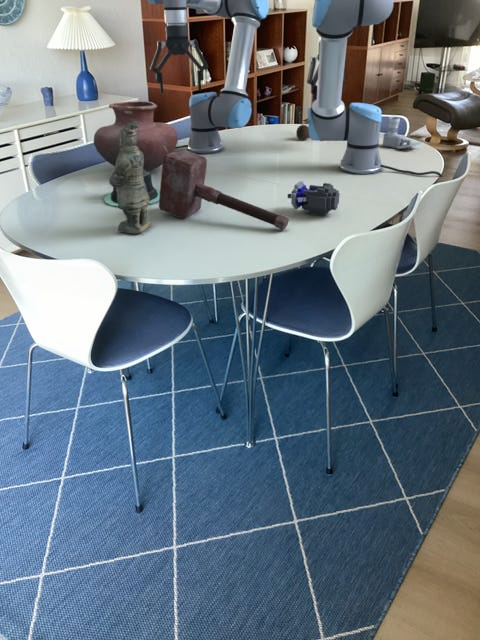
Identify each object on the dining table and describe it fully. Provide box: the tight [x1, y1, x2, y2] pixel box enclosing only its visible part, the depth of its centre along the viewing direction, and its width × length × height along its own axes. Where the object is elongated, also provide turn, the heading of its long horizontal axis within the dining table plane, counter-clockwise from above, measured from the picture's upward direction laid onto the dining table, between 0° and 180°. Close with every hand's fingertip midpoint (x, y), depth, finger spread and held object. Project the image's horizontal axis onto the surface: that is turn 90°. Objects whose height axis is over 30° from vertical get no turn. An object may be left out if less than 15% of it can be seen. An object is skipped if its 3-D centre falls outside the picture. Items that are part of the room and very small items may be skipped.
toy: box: [287, 180, 341, 216], centre depth 168 cm, size 9×9×15 cm
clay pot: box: [93, 100, 179, 172], centre depth 208 cm, size 30×30×25 cm
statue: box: [108, 121, 153, 235], centre depth 154 cm, size 11×9×30 cm
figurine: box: [295, 120, 310, 141], centre depth 261 cm, size 13×8×25 cm
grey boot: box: [382, 116, 422, 150], centre depth 236 cm, size 9×12×15 cm
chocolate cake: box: [103, 169, 160, 207], centre depth 186 cm, size 15×19×20 cm
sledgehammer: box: [158, 148, 290, 231], centre depth 163 cm, size 17×10×40 cm
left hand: (181, 91), depth 198 cm, fingers open, 13 cm apart
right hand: (325, 101), depth 230 cm, fingers closed on block, 9 cm apart
